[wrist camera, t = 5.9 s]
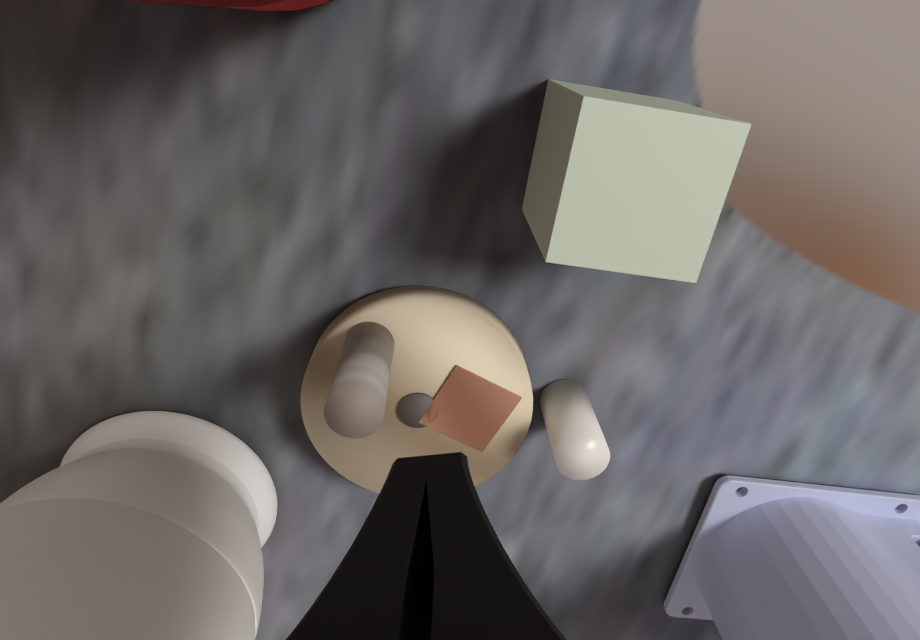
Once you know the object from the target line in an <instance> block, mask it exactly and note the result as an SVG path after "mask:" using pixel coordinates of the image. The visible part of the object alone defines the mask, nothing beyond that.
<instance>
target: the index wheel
mask: <svg viewBox="0 0 920 640" xmlns="http://www.w3.org/2000/svg"><path fill="white" fill-rule="evenodd" d="M300 400H301V413H302V418H303V423H304V426H305V429H306V431H307V434H308V436H309V438H310V440H311V442H312V444H313V445H314V447H315V449H316V450H317V451H318V453H319V454H320V455H321V457H322V458H323V459H324V460H325V461H326V462H327V463H328V464H329V465H330V466H331V467H332V468H333V469H334V470H336V471H337V472H338V473H339V474H341V475H342V476H343V477H345V478H347V479H348V480H350V481H351V482H353V483H355V484H357V485H359V486H361V487H363V488H365V489H368V490H371V491H374V492H376V493H379V494H380V492H381V490H382V487H383V485H384V483H385V481H386V479H387V476H388V474H389V472H390V469H391V466H392V464H393V463H394V462H395V460H396V459H397V458H404V457H414V456H425V455H435V454H445V453H455V452H462V453H463V454H464V455H466V456H467V459H468V466H469V471H470V474H471V478H472V481H473V484H474V487H475V486H477V485H479V484H481V483H483V482H484V481H486V480H488V479H489V478H491V477H492V476H493V475H495V474H496V473H498V472H499V471H500V470H501V469H502V468H503V467H504V466H505V465H507V463H508V462H509V461H510V460H511V459H512V458H513V457H514V455H515V454H516V453H517V451H518V450H519V448H520V447H521V445H522V443H523V441H524V439H525V437H526V435H527V433H528V430H529V426H530V423H531V419H532V412H533V393H532V387H531V382H530V378H529V374H528V370H527V366H526V362H525V359H524V356H523V353H522V349H521V347H520V345H519V343H518V341H517V339H516V337H515V336H514V335H513V333H512V332H511V330H510V329H509V327H508V326H507V325H506V324H505V323H504V322H503V321H502V320H501V319H500V318H499V317H498V316H497V315H496V314H495V313H494V312H492V311H491V310H490V309H489V308H487V307H486V306H484V305H482V304H481V303H479V302H478V301H476V300H474V299H472V298H470V297H467V296H465V295H463V294H460V293H457V292H454V291H451V290H447V289H442V288H436V287H428V286H406V287H398V288H392V289H387V290H383V291H380V292H377V293H374V294H371V295H369V296H367V297H365V298H363V299H361V300H358V301H357V302H355V303H354V304H352V305H351V306H349V307H347V308H346V309H345V310H344V311H342V312H341V313H340V314H339V315H338V316H337V317H335V319H334V320H333V321H332V322H331V323H330V324H329V325H328V326H327V328H326V329H325V331H324V332H323V334H322V335H321V337H320V338H319V340H318V342H317V345H316V347H315V349H314V351H313V354H312V357H311V359H310V362H309V364H308V367H307V369H306V372H305V375H304V379H303V383H302V388H301V397H300Z"/></svg>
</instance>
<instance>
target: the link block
mask: <svg viewBox="0 0 920 640" xmlns="http://www.w3.org/2000/svg"><path fill="white" fill-rule="evenodd" d="M750 127H751V124H750V123H746V122H743V121H740V120H737V119H734V118H730V117H727V116H724V115H721V114H717V113H714V112H711V111H708V110H705V109H701V108H698V107H695V106H692V105H688V104H685V103H682V102H679V101H675V100H669V99H663V98H657V97H651V96H645V95H639V94H633V93H627V92H621V91H615V90H610V89H604V88H598V87H592V86H586V85H580V84H574V83H568V82H562V81H556V80H550V79H548V83H547V88H546V93H545V98H544V103H543V108H542V113H541V117H540V122H539V127H538V132H537V137H536V142H535V147H534V152H533V157H532V161H531V166H530V171H529V176H528V181H527V186H526V191H525V196H524V201H523V206H522V211H523V213H524V215H525V217H526V220H527V222H528V224H529V226H530V228H531V231H532V233H533V235H534V237H535V240H536V242H537V244H538V246H539V248H540V251H541V253H542V255H543V257H544V259H545V262H549V263H556V264H564V265H571V266H578V267H585V268H592V269H600V270H607V271H614V272H621V273H628V274H636V275H643V276H650V277H657V278H664V279H671V280H679V281H686V282H693V283H696V282H697V279H698V276H699V273H700V270H701V267H702V264H703V262H704V259H705V256H706V253H707V250H708V247H709V244H710V241H711V239H712V236H713V233H714V230H715V227H716V224H717V221H718V219H719V216H720V213H721V210H722V207H723V204H724V201H725V198H726V196H727V193H728V190H729V187H730V184H731V181H732V178H733V175H734V173H735V170H736V167H737V164H738V161H739V158H740V155H741V153H742V150H743V147H744V144H745V141H746V138H747V135H748V132H749V129H750Z"/></svg>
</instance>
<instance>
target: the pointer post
mask: <svg viewBox="0 0 920 640" xmlns="http://www.w3.org/2000/svg"><path fill="white" fill-rule="evenodd" d="M540 406H541V410H542V414H543V418H544V422H545V425H546V429H547V433H548V437H549V441H550V444H551V448H552V452H553V456H554V460H555V463H556V467H557V469H558V470H559V472H560V473H561V474H562V475H564V476H565V477H567V478H569V479H573V480H587V479H590V478H593V477H595V476H597V475H599V474H600V473H601V472H603V471H604V470H605V468H606V467H607V465H608V463H609V460H610V451H609V448H608V446H607V443H606V441H605V438H604V436H603V433H602V431H601V428H600V426H599V423H598V421H597V418H596V416H595V413H594V411H593V408H592V406H591V403H590V401H589V398H588V396H587V393H586V391H585V389H584V387H583V386H582V385H581V384H580V383H578V382H576V381H574V380H569V379H562V380H557V381H554V382H552V383H550V384H549V385H548V386H547V387H546V388H545V389H544V390H543V391H542V393H541V396H540Z"/></svg>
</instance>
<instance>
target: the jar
mask: <svg viewBox="0 0 920 640" xmlns="http://www.w3.org/2000/svg"><path fill="white" fill-rule="evenodd" d="M276 516H277V496H276V490H275V486H274V484H273V481H272V478H271V476H270V474H269V472H268V470H267V469H266V467H265V465H264V464H263V462H262V461H261V460H260V458H259V457H258V456H257V455H256V454H255V453H254V452H253V451H252V450H251V449H250V448H249V447H248V446H247V445H246V444H245V443H244V442H243V441H241V440H240V439H239V438H237V437H236V436H234V435H233V434H231V433H230V432H228V431H227V430H225V429H223V428H221V427H219V426H217V425H215V424H213V423H211V422H208V421H206V420H203V419H200V418H197V417H193V416H190V415H186V414H181V413H174V412H167V411H139V412H133V413H127V414H122V415H118V416H115V417H112V418H109V419H107V420H105V421H102V422H100V423H98V424H96V425H95V426H93V427H91V428H90V429H88V430H87V431H86V432H84V433H83V434H82V435H81V436H80V437H78V438H77V439H76V440H75V442H74V443H73V444H72V445H71V446H70V448H69V449H68V451H67V452H66V454H65V456H64V458H63V460H62V462H61V465H60V467H58V468H56V469H54V470H52V471H50V472H48V473H46V474H44V475H42V476H40V477H39V478H37V479H35V480H33V481H32V482H30V483H28V484H27V485H25V486H24V487H22V488H21V489H19V490H18V491H16V492H15V493H13V494H12V495H11V496H9V497H8V498H7V499H5V500H4V501H3V502H1V503H0V640H255V637H256V634H257V630H258V625H259V619H260V613H261V606H262V597H263V580H264V571H263V556H262V549H261V548H262V547H263V545H264V544H265V542H266V541H267V539H268V538H269V536H270V534H271V532H272V530H273V527H274V524H275V521H276Z"/></svg>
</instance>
